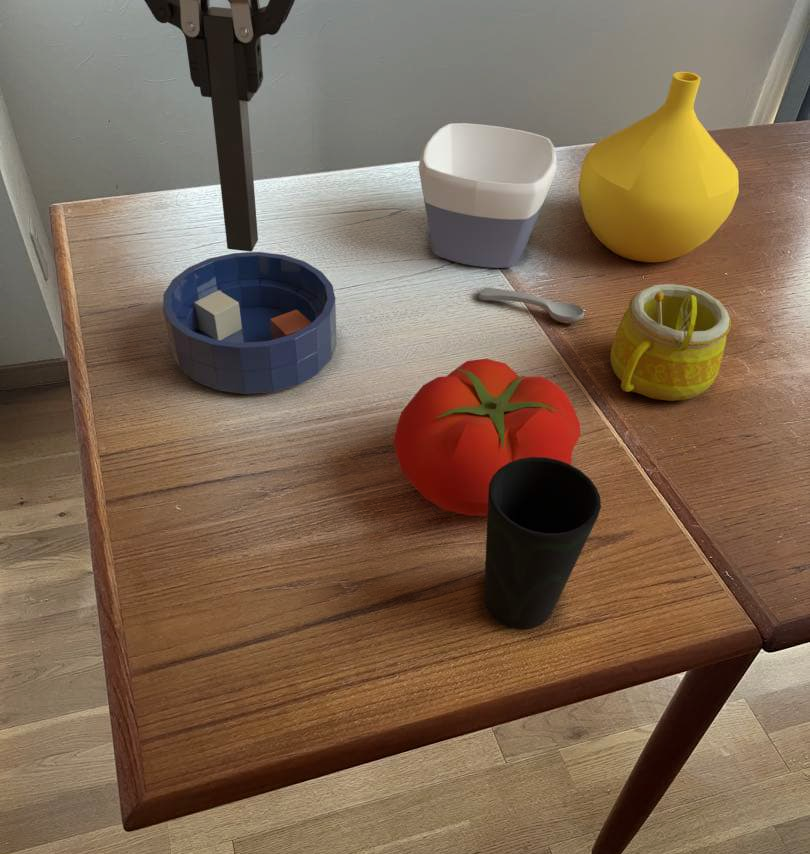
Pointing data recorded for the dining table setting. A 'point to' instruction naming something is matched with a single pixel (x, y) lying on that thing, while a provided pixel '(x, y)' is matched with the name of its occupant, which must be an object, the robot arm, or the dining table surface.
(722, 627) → the dining table surface
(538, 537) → the cup
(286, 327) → the block
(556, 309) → the spoon
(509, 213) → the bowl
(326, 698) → the dining table surface
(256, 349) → the bowl
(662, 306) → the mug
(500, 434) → the tomato
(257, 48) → the robot arm
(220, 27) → the stick
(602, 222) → the vase
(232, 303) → the block
